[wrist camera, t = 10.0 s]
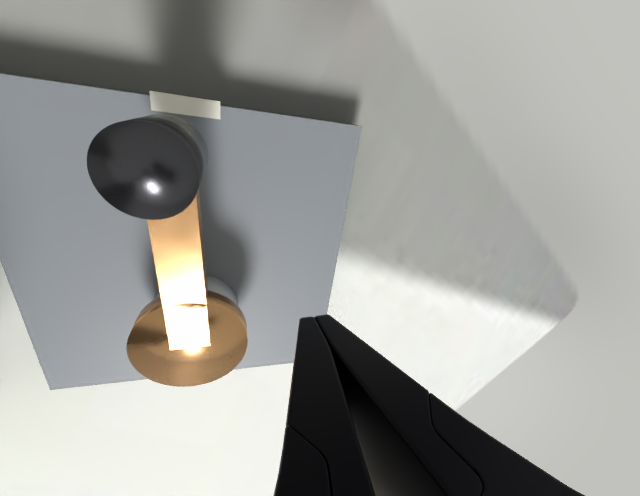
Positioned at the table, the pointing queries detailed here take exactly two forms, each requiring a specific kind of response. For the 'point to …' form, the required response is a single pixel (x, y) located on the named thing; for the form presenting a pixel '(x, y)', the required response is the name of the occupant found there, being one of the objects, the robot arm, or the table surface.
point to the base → (133, 233)
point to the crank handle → (169, 249)
